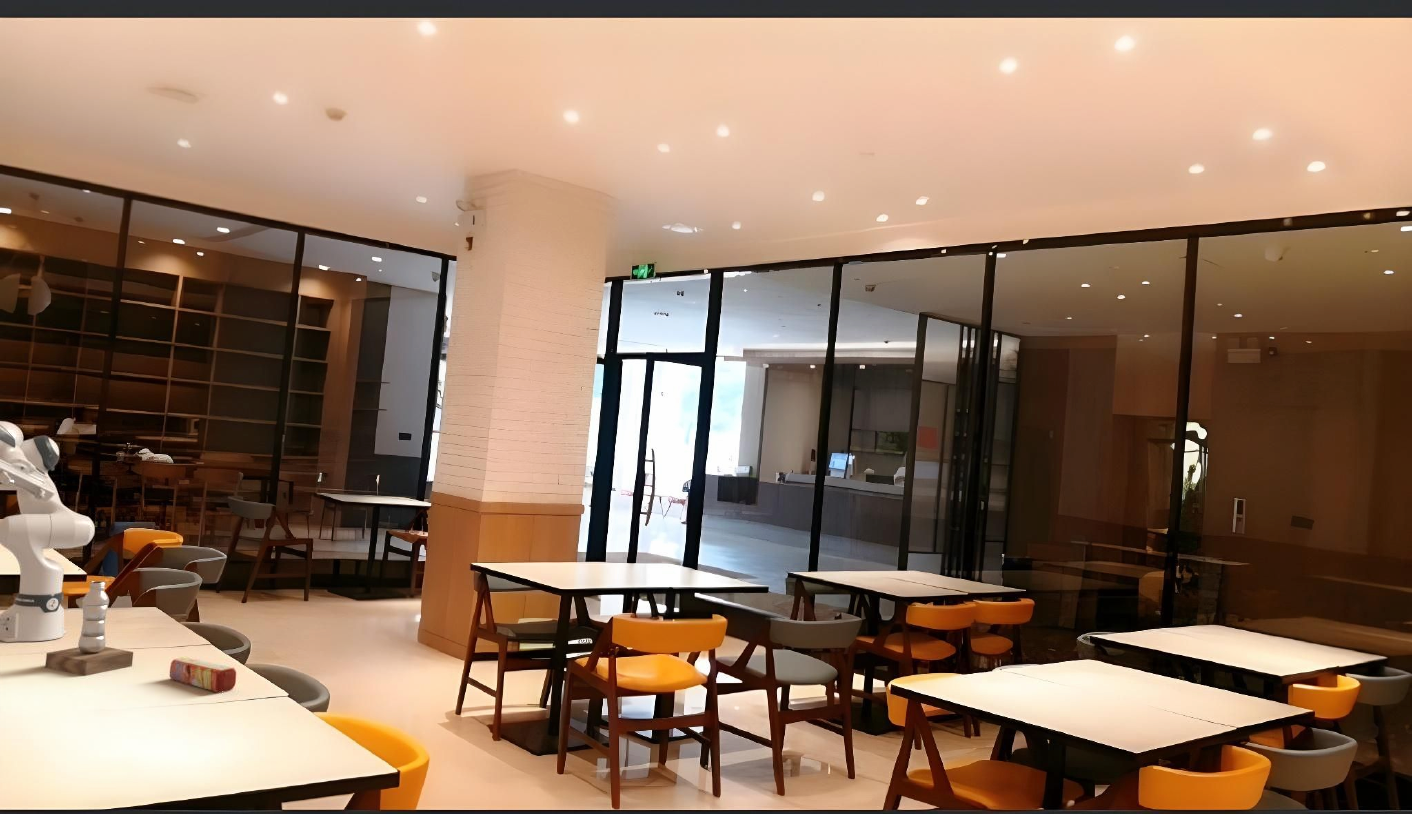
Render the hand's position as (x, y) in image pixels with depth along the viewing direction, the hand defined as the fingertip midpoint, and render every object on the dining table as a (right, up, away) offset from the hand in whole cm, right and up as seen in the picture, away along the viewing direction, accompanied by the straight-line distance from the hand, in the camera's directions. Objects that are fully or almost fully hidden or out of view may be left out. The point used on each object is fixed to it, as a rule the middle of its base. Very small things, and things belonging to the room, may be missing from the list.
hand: (25, 490), depth 271 cm
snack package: (+58, -53, -14) cm, 80 cm away
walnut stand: (+21, -50, -3) cm, 54 cm away
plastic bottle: (+21, -46, -3) cm, 51 cm away
